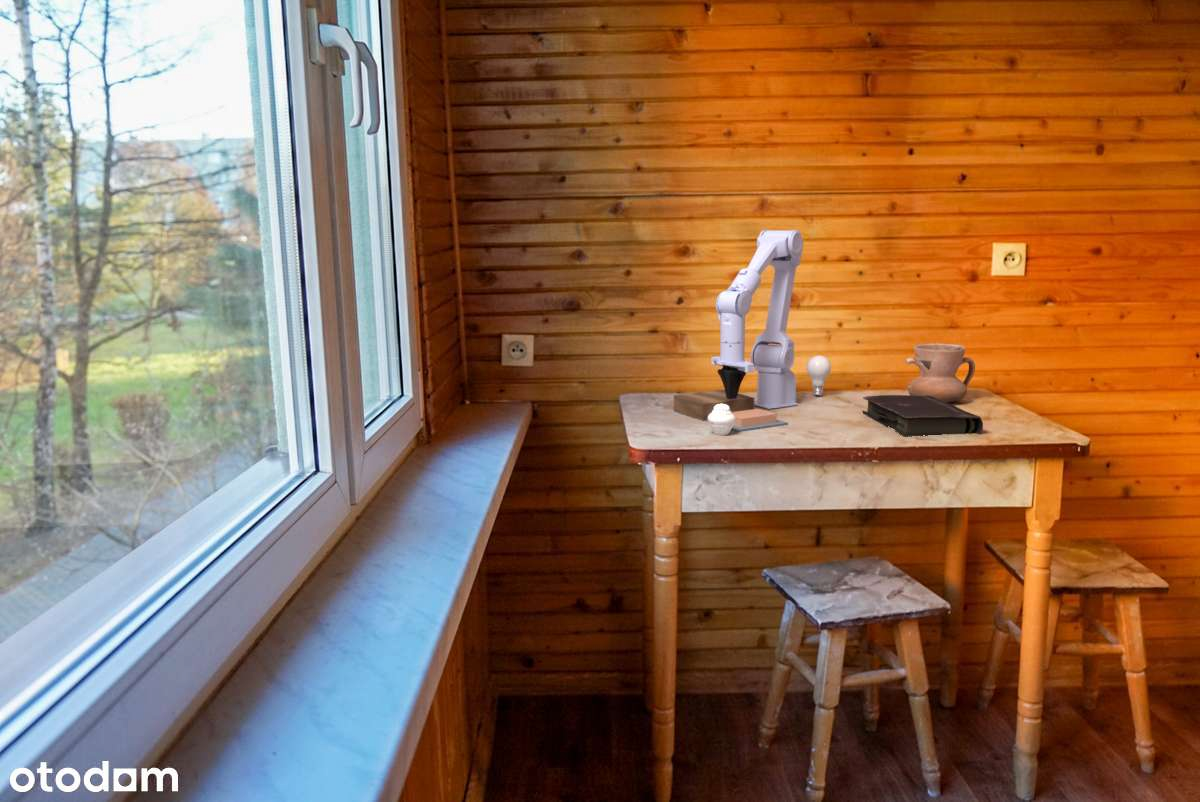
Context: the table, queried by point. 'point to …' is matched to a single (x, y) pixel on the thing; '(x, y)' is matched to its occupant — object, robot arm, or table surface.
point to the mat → (757, 426)
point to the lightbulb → (818, 372)
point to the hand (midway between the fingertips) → (731, 398)
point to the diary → (921, 415)
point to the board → (709, 403)
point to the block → (753, 417)
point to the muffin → (721, 419)
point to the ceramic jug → (940, 371)
